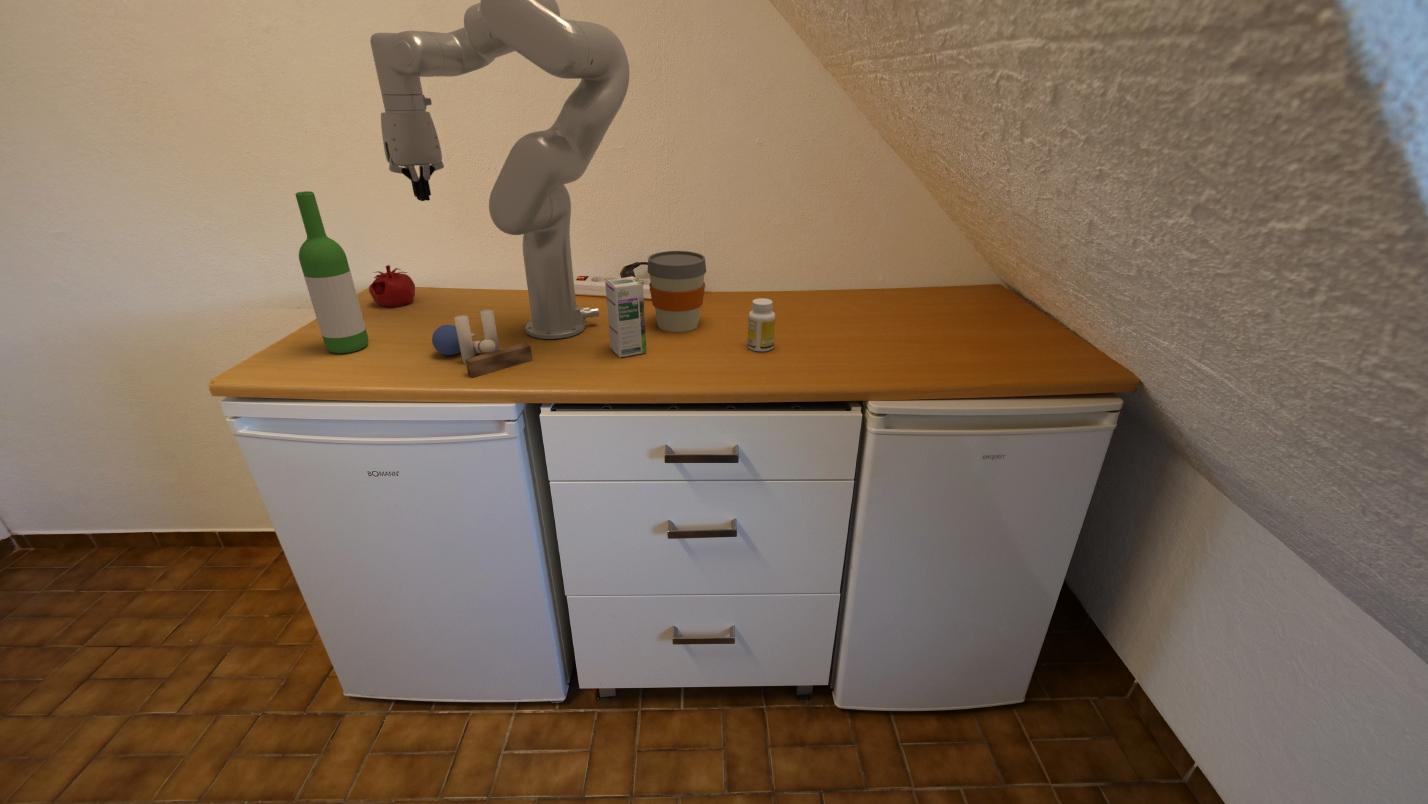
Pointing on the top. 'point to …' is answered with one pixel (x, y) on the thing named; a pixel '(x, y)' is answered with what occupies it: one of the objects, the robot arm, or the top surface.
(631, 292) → the syrup box
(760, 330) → the supplement bottle
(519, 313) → the top surface
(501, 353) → the back rail
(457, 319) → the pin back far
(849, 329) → the top surface
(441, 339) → the ball
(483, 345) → the pin front
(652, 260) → the reusable coffee cup
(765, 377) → the top surface
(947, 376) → the top surface
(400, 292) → the pomegranate
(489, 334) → the pin back near
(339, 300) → the wine bottle
